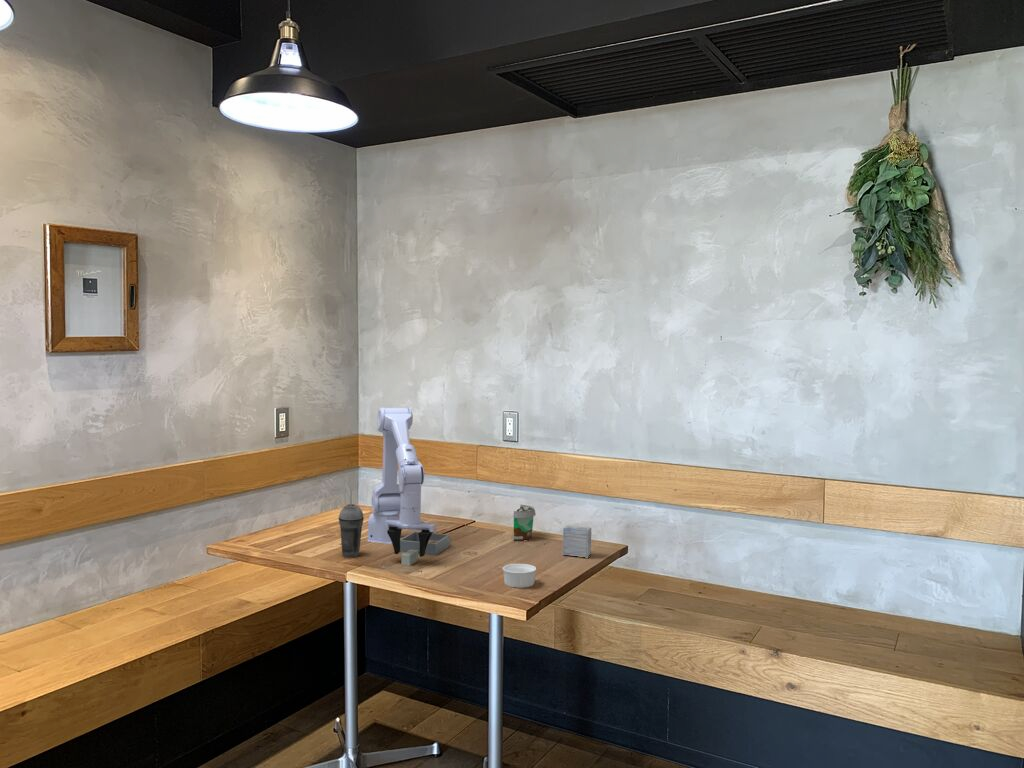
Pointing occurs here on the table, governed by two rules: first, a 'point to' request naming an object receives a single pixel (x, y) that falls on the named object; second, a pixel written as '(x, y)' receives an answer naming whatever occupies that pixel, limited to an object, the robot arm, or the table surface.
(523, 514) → the food container
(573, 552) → the medicine box
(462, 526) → the table surface
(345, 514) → the beverage cup
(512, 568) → the ramekin
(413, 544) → the storage box
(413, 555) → the lid
